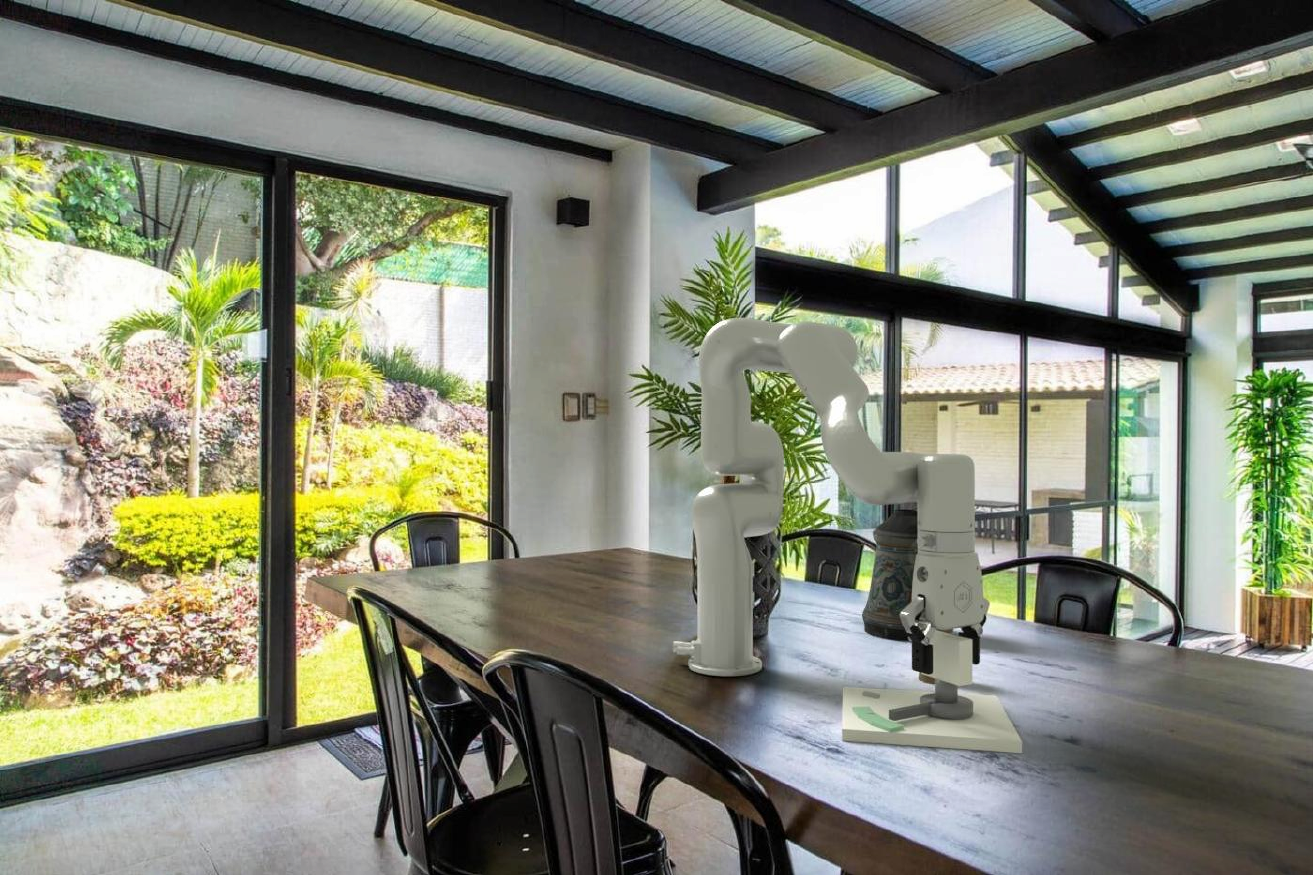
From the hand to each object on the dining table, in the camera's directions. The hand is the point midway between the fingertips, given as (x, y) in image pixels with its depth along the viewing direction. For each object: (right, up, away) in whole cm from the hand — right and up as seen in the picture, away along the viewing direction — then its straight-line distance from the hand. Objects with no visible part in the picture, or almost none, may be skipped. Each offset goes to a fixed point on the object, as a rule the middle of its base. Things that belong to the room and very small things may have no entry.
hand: (946, 667), depth 121 cm
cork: (+6, -8, +22) cm, 24 cm away
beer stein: (+12, -8, +57) cm, 59 cm away
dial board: (-3, -8, +1) cm, 8 cm away
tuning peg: (-3, -6, -2) cm, 7 cm away
